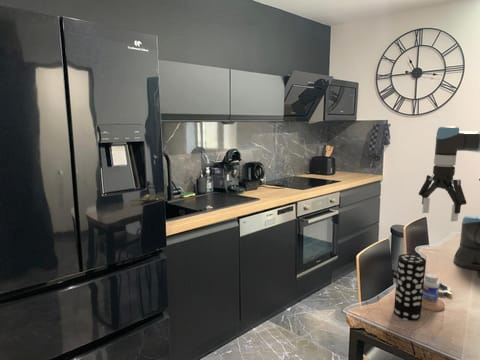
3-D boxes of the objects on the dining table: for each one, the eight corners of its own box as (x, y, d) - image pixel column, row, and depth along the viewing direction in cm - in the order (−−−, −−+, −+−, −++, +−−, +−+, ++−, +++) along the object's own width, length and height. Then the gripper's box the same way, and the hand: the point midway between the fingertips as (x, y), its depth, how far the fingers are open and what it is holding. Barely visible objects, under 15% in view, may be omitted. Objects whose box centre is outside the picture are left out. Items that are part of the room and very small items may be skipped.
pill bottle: (418, 301, 125) (421, 276, 124) (422, 296, 130) (424, 271, 128) (435, 306, 122) (438, 280, 121) (438, 300, 126) (441, 275, 125)
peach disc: (427, 295, 132) (427, 292, 132) (451, 308, 123) (451, 305, 123) (406, 299, 129) (407, 297, 129) (429, 313, 120) (429, 310, 120)
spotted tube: (419, 323, 113) (425, 265, 110) (391, 316, 118) (396, 260, 114) (421, 312, 120) (427, 257, 117) (395, 305, 125) (400, 252, 121)
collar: (432, 281, 144) (432, 278, 144) (459, 295, 132) (460, 291, 132) (415, 285, 141) (415, 281, 140) (441, 299, 129) (442, 295, 129)
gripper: (481, 168, 130) (474, 224, 133) (425, 161, 153) (421, 209, 156) (466, 169, 127) (460, 225, 130) (412, 162, 150) (408, 210, 154)
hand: (439, 216), depth 143 cm, fingers open, 13 cm apart
